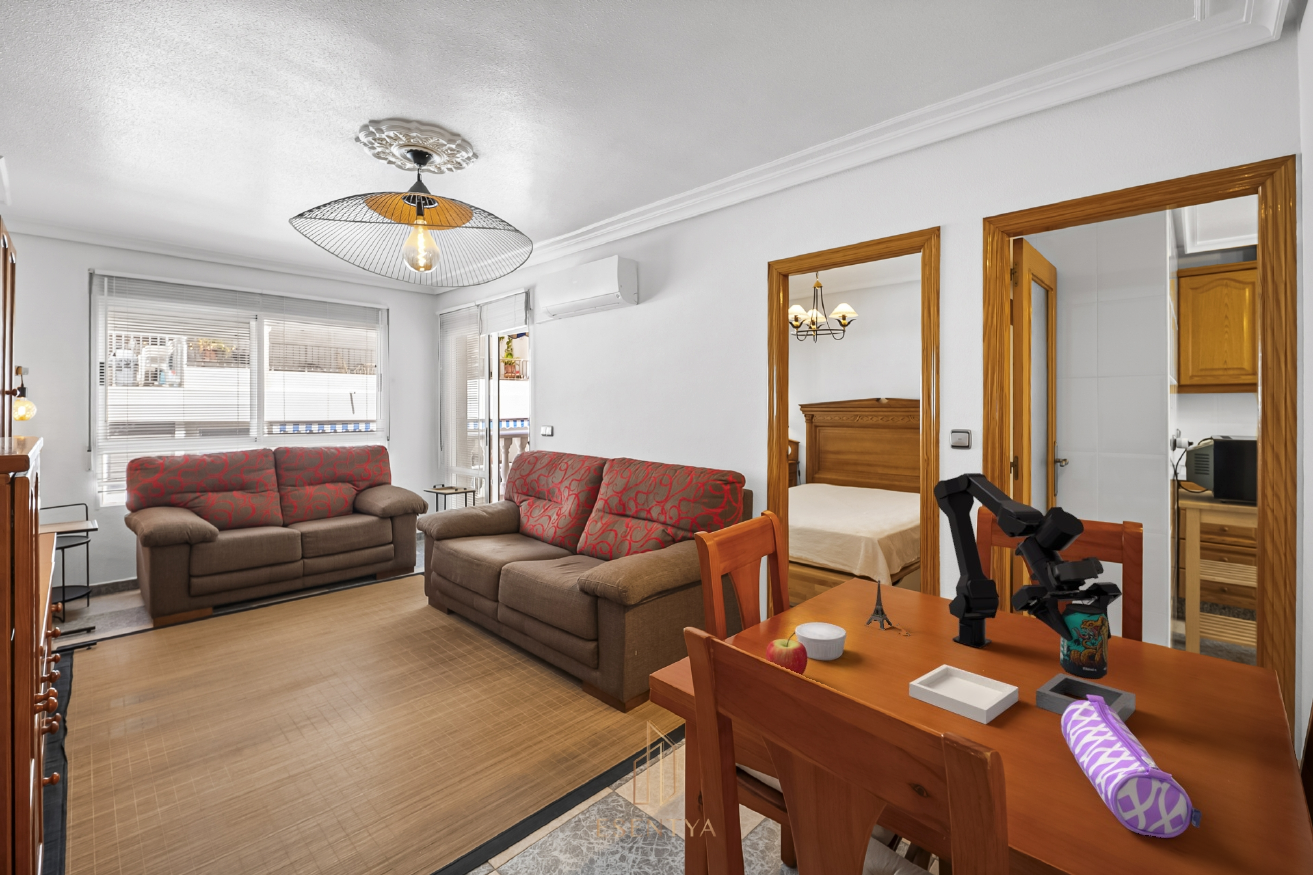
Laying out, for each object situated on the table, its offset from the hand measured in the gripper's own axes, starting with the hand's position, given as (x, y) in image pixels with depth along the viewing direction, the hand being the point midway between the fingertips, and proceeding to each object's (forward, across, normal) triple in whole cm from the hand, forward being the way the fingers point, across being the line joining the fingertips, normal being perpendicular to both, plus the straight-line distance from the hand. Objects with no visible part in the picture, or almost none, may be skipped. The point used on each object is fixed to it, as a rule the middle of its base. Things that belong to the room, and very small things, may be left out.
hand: (1089, 639), depth 109 cm
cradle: (+4, -19, +14) cm, 25 cm away
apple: (-4, -50, +23) cm, 55 cm away
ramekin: (-13, -38, +32) cm, 52 cm away
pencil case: (+25, -15, -6) cm, 30 cm away
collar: (+9, 0, +10) cm, 13 cm away
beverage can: (+4, 0, +6) cm, 7 cm away
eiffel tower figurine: (-23, -16, +44) cm, 52 cm away
